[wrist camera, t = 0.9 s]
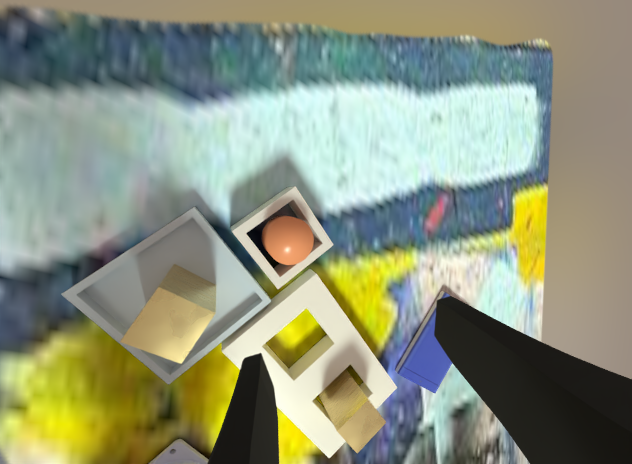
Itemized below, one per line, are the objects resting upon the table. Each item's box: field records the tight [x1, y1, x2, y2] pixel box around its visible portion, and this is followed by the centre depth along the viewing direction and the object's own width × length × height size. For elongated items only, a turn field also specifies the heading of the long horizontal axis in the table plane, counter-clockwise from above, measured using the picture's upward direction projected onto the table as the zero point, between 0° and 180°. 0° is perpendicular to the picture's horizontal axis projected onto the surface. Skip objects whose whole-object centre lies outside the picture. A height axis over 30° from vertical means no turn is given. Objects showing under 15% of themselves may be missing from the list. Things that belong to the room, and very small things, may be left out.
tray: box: [61, 206, 271, 385], centre depth 22 cm, size 11×11×2 cm
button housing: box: [230, 186, 333, 289], centre depth 24 cm, size 7×7×3 cm
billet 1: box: [120, 264, 216, 364], centre depth 19 cm, size 4×4×6 cm
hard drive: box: [395, 291, 452, 393], centre depth 35 cm, size 2×8×12 cm
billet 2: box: [319, 369, 386, 453], centre depth 27 cm, size 4×4×6 cm
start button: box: [262, 215, 314, 265], centre depth 22 cm, size 4×4×3 cm
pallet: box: [222, 268, 397, 458], centre depth 28 cm, size 11×19×2 cm, turn 33°
